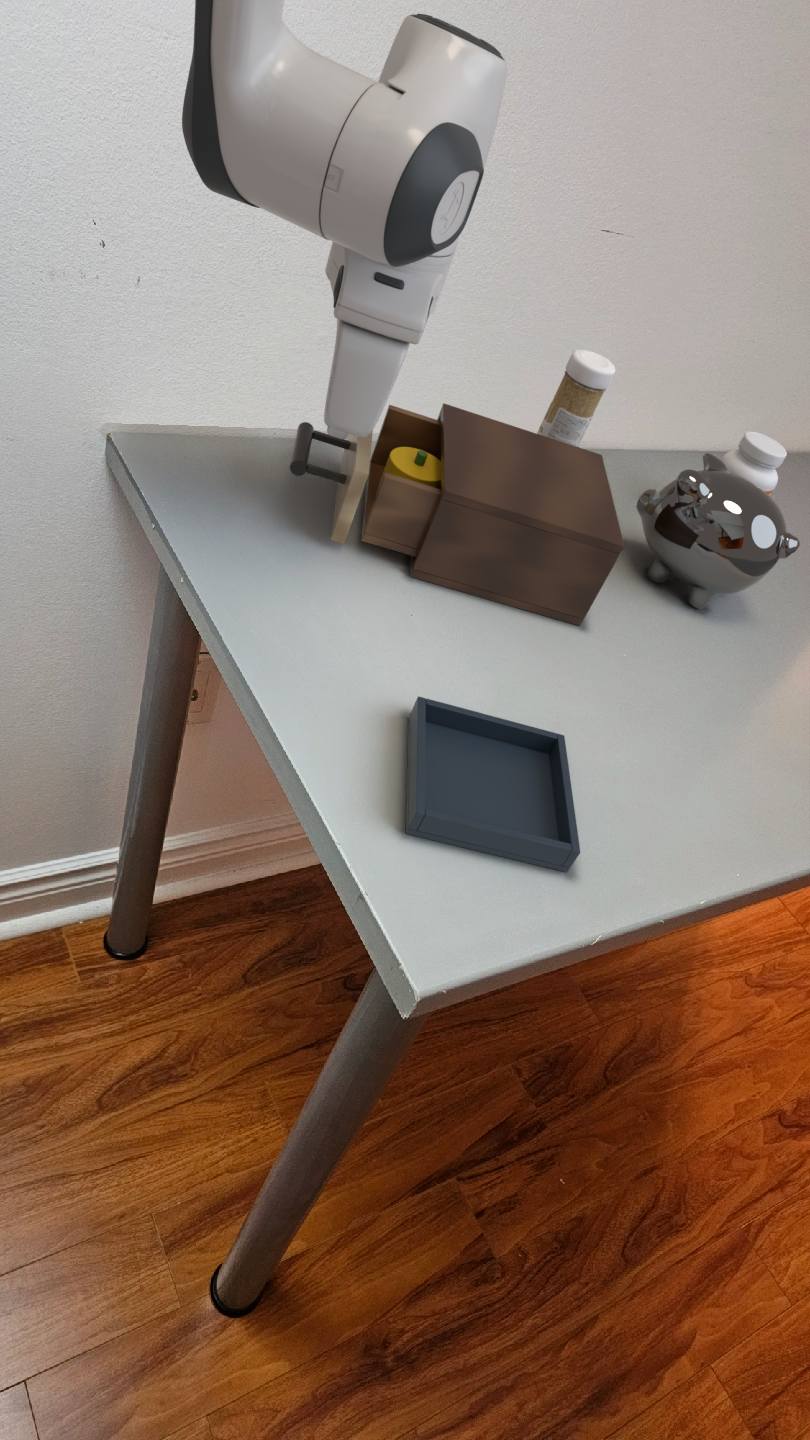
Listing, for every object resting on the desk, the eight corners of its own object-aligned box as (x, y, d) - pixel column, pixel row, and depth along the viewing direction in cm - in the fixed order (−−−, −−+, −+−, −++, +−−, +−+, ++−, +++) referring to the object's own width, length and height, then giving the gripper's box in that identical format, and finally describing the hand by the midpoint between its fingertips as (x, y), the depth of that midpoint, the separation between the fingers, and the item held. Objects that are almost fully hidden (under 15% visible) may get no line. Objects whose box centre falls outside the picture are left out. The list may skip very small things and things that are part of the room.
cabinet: (409, 576, 89) (444, 490, 83) (412, 484, 100) (443, 402, 95) (580, 626, 92) (624, 546, 86) (563, 530, 103) (602, 454, 98)
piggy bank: (636, 524, 109) (690, 426, 102) (762, 602, 106) (828, 506, 99) (594, 559, 101) (650, 455, 94) (730, 644, 98) (799, 543, 90)
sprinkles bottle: (524, 461, 112) (578, 342, 103) (563, 479, 111) (620, 362, 103) (514, 477, 108) (569, 356, 100) (555, 496, 108) (613, 376, 99)
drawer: (275, 523, 86) (296, 451, 82) (292, 441, 97) (311, 373, 92) (494, 588, 90) (525, 522, 86) (488, 501, 101) (515, 439, 96)
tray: (405, 833, 67) (416, 812, 66) (408, 716, 75) (417, 695, 74) (567, 872, 69) (580, 852, 68) (552, 754, 78) (564, 734, 76)
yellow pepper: (374, 511, 90) (392, 458, 87) (376, 481, 94) (394, 429, 91) (431, 528, 91) (452, 477, 88) (431, 497, 95) (451, 447, 92)
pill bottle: (736, 558, 111) (794, 468, 104) (682, 533, 111) (737, 441, 104) (738, 532, 116) (794, 445, 109) (687, 509, 116) (740, 420, 109)
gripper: (355, 211, 87) (311, 366, 95) (337, 304, 71) (287, 478, 80) (428, 236, 88) (378, 387, 97) (425, 333, 72) (367, 502, 81)
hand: (337, 429), depth 88 cm, fingers closed
